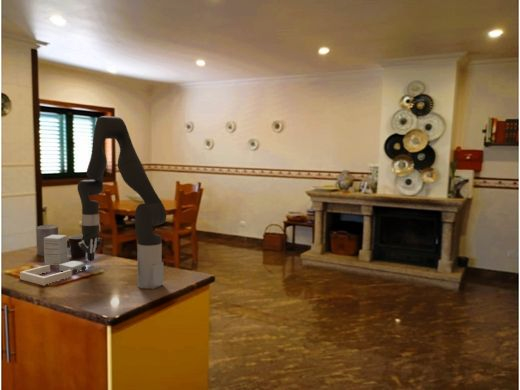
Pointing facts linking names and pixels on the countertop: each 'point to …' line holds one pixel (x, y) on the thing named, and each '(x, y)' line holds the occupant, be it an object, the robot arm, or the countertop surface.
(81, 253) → the coffee mug
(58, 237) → the supplement box
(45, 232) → the pillar candle
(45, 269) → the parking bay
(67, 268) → the white box with feet
